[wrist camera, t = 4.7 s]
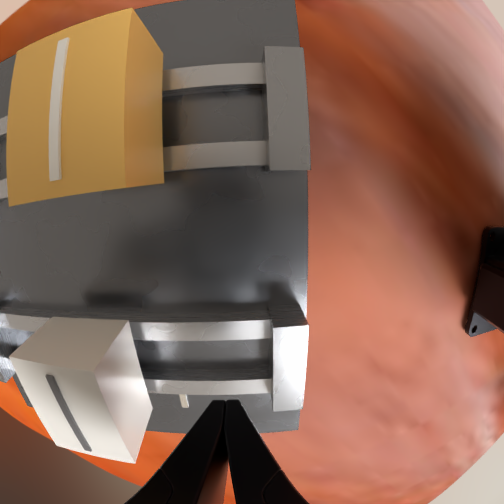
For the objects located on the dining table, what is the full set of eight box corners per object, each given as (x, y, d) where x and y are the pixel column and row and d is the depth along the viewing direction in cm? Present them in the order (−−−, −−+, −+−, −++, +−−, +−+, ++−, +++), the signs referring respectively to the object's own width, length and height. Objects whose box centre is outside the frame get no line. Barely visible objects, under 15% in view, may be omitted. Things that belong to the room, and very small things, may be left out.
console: (290, 10, 9) (302, -27, 6) (294, 414, 14) (303, 454, 11) (-16, 83, 9) (-49, 76, 6) (35, 395, 14) (15, 422, 11)
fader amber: (171, 66, 9) (130, 5, 4) (173, 182, 10) (124, 188, 5) (85, 84, 9) (15, 50, 4) (85, 192, 10) (6, 207, 5)
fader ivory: (139, 305, 11) (91, 373, 7) (158, 390, 12) (134, 465, 8) (67, 304, 11) (7, 358, 6) (92, 383, 12) (55, 446, 8)
